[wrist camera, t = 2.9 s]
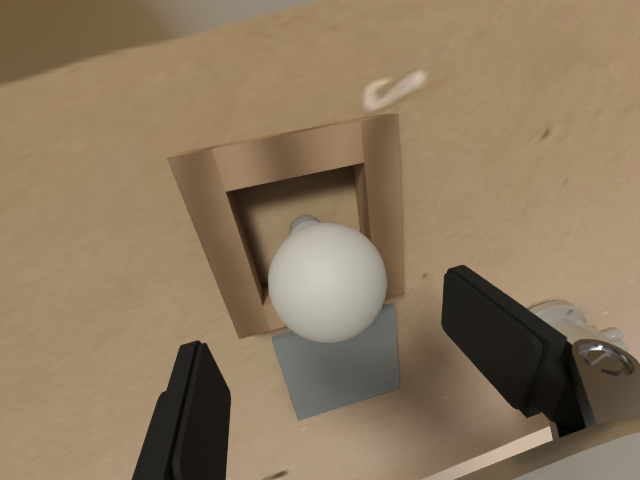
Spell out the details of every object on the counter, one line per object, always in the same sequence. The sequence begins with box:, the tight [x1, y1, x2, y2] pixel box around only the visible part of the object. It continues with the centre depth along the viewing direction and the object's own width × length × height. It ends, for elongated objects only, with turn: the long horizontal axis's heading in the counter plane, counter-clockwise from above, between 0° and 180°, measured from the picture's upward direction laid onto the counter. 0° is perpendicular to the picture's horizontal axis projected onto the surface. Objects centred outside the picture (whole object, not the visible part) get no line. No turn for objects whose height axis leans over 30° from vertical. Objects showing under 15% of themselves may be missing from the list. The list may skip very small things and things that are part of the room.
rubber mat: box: [272, 304, 400, 421], centre depth 28 cm, size 12×12×1 cm
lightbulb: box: [268, 215, 387, 343], centre depth 16 cm, size 6×6×11 cm
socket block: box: [167, 114, 404, 339], centre depth 20 cm, size 14×14×2 cm
